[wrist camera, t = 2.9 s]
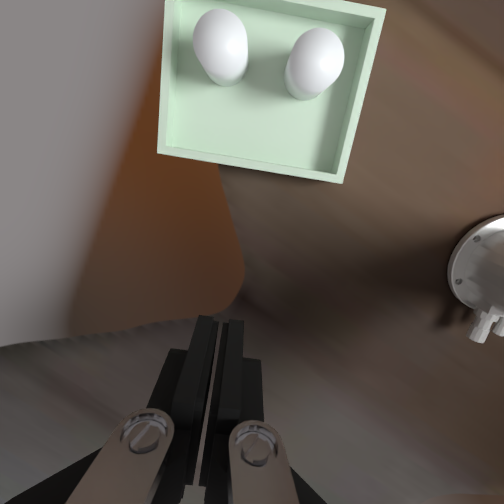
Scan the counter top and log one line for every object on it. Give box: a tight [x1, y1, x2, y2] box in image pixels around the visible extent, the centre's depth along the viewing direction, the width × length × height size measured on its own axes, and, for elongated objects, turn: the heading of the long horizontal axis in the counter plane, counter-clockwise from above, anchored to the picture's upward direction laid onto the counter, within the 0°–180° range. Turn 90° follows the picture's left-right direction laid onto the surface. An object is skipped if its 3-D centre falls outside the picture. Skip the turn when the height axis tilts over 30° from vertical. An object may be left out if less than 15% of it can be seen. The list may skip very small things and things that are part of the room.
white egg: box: [193, 9, 248, 87], centre depth 26 cm, size 4×4×6 cm
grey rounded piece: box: [284, 28, 344, 101], centre depth 27 cm, size 4×4×6 cm
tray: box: [157, 0, 386, 184], centre depth 29 cm, size 15×19×3 cm
